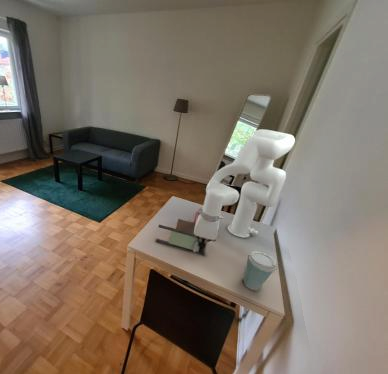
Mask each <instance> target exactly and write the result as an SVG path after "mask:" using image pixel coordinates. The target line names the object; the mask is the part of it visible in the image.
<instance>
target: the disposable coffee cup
mask: <svg viewBox="0 0 388 374" xmlns="http://www.w3.org/2000/svg"><path fill="white" fill-rule="evenodd" d="M277 264H278V263H277V260H276V259H275V258H274V257H273V256H271V255H269V254H268V253H265V252H263V251H258V250H257V251H251V252H249V253H248V254H247V260H246V265H245V270H244V275H243V278H242V279H243V284H244V285H245V286H246V287H247V288H249V289H250V290H253V291H258V290H260V289H261V287H262V286H263V285H264V284H265V283H266V282H267V280H268V279H269V277H270V276H271V275H272V274H273V273H274V272H275V271H276V270H277V269H278V265H277Z"/></svg>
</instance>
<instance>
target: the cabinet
mask: <svg viewBox="0 0 388 374" xmlns="http://www.w3.org/2000/svg"><path fill="white" fill-rule="evenodd" d="M195 224H196V223H194V221H193V222H192V221H189V220H185V219H181V218H178V219H177V222H176V225H175V228H174V227H170V226H167V225H162V224H160V223H159V224H158V227H157V228H160V229H164V230H168V231H170V232H171V231H174V232H178V233H182V234H185V235H189V236H193V235H192V234H193V232H194V228H195ZM193 237H195V236H193ZM202 239H203V240H204V239H205V238H203V237H202ZM155 242H156V243H158V244H162V245H166V246H168V247H171V248H176V249H179V250H183V251H186V252H190V253H193V254H197V255H200V256H205V255H206V252H205V250H206V246H207V244H206V245H205V248H203V250H201V249H199V251H196V252H193V250H191V249H187V248H184V247H180V246H177V245H173V244H170V243H169V241H166V240H164V239H163V240H162V239H160V238H156V240H155Z"/></svg>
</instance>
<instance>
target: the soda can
mask: <svg viewBox="0 0 388 374" xmlns="http://www.w3.org/2000/svg"><path fill="white" fill-rule="evenodd" d="M202 209H203V208H198V209H197V210H196V212H195V216H194V219H193V223H196V221H197V218H198V216H199V214H201V213H202Z"/></svg>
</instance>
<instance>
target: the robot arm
mask: <svg viewBox="0 0 388 374" xmlns="http://www.w3.org/2000/svg"><path fill="white" fill-rule="evenodd" d="M295 142H296V140H295V137H294V135H293V134H290V133H286V132H282V131H276V130H270V129H264V128H263V129H262V128H260V129H257V130H255V131H254V133H253V135H252V136H250V137H249V138H248V139H246V142H245V143H244V144H243V146H242V147H241V149H240V151H239V152H238V154H237V155H236V157H235V158H234V160H233V162H231V163H229V164H227V165H224V166H223V167H221V168H220V169H218V170H217V171H216V172H214V174H213V175H212V176H211V178H210V180H209V182H207V184H206V188H205V193H206V194H205V198H204V201H203V204H202V205H203V206H202V208H201V209H202V213H201V214H199V216H198V218H197V221H196V224H195V228H194V232H193V234H192V235H193V236H195V237H197V239H198V240H199V244H198V246H199V249H201V250H203V248H205V249H206V247H205V245H206V246H207V243H210V242H216V241H217V237H218V232H219V228H220V220H223V218H224V216H223V215H222V214H221V212H222V209H223V207H226V206H232V205H234V204H236V203H237V202H238V203H237V207H236V210H235V213H234V216H233V219H232V221H231V223H230V224H228V225H227V231H228V232H230V234H231V235H234V236H235V237H238V238H243V239H246V238H249V237H250V236H251V234H254V235H258V233H259V231H258V230H256V229H255V228H254V227H251V225H252V223H253V220H254V217H255V215H256V212H257V209H258V206H257V204H259V205H261V206H264V207H267V208H271V207H274V206H275V204H276V203H277V201H278V199H279V196H280V194H281V192H282V189H283V187H284V184H285V181H286V178H287V172H286V171H285V170H283V169H281V168H278V167H275V166H274V163H275V161H277V160H278V159H280V158H281V157H283V156H284V155H286V154H288V152H289V153H290V151H291V150H292V148H293V147H294V145H295ZM246 174H249V177H250V179H251V180H253V181H246V182H244V183H243V184H242V186H241V190H240V193H239V191H238V190H237V189H235V188H233V187H230V186H228V185H226V184H223V183H221V181H222V180H223V179H225V178H226V177H229V176H233V175H246ZM254 181H255V182H254ZM202 237H203V238H205V239H204V240H203V239H202Z"/></svg>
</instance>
